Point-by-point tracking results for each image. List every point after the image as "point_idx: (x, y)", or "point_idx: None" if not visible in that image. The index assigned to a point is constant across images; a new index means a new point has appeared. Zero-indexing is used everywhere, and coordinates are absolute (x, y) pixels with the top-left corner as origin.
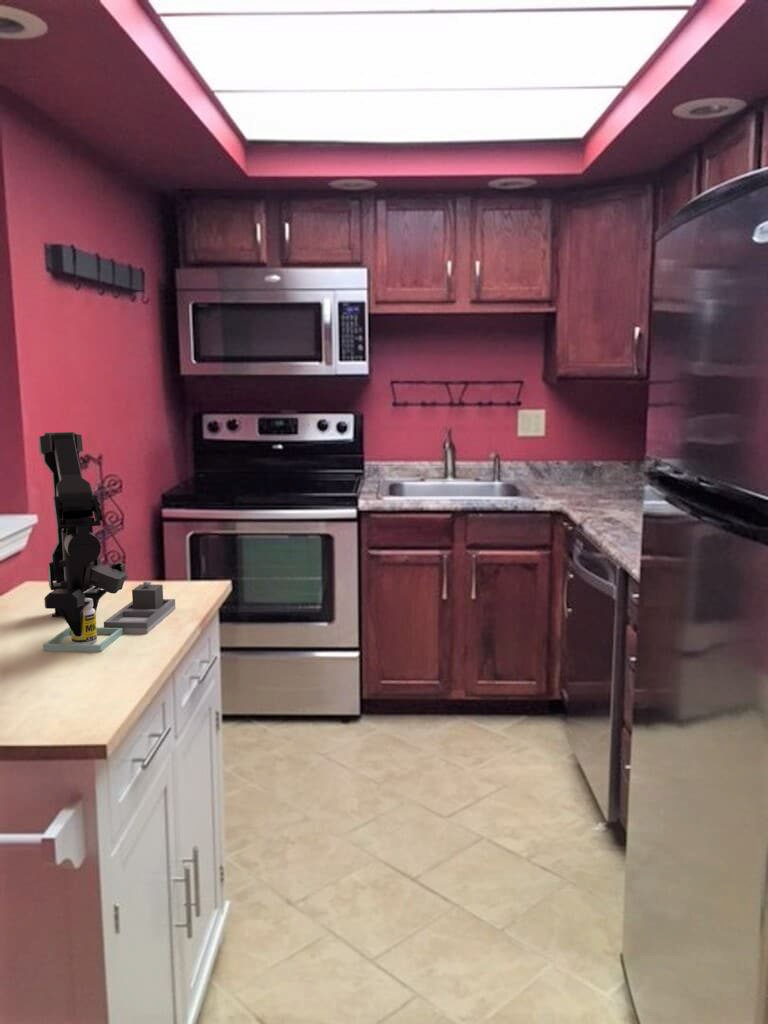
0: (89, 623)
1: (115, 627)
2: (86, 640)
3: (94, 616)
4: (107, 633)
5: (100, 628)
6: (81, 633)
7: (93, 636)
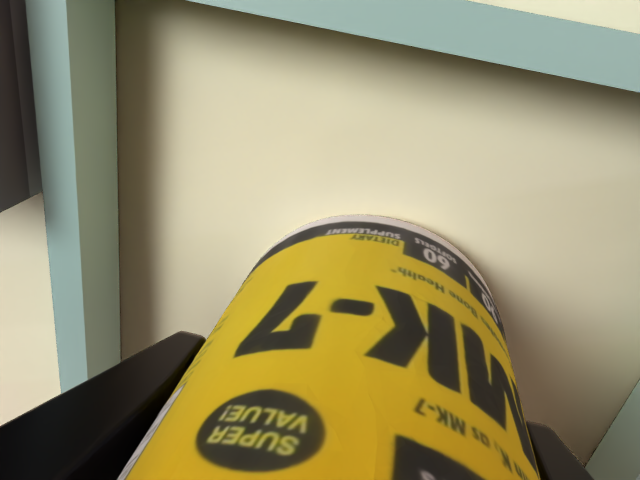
0: (511, 454)
1: (6, 47)
2: (500, 321)
3: (380, 472)
4: (113, 135)
5: (78, 230)
6: (538, 436)
7: (439, 267)
